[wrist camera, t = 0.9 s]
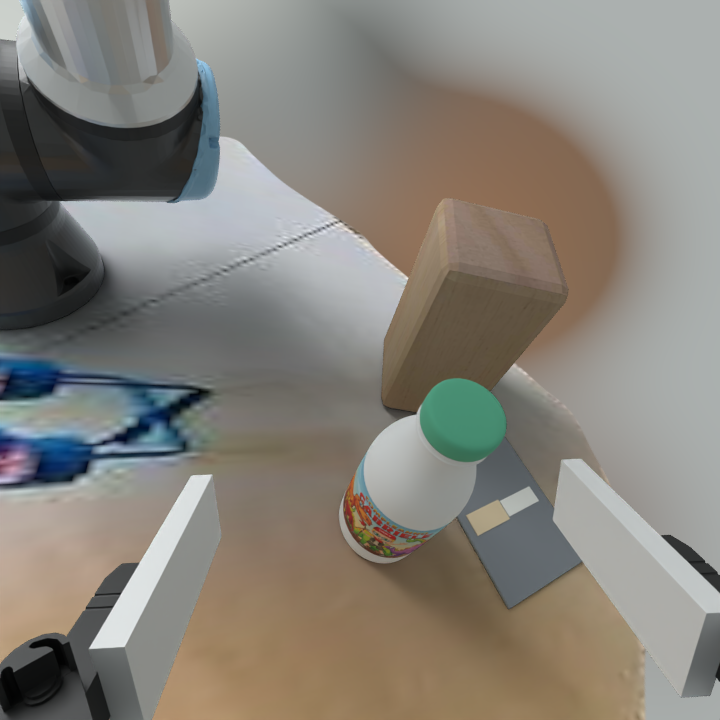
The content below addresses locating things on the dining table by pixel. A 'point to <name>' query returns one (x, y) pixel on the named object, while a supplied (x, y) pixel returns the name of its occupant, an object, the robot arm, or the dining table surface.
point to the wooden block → (470, 301)
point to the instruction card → (514, 528)
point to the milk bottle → (421, 471)
